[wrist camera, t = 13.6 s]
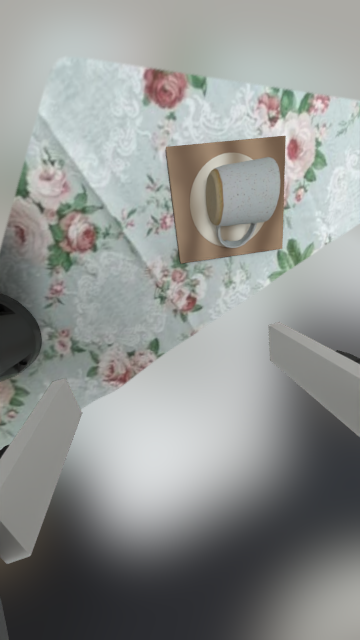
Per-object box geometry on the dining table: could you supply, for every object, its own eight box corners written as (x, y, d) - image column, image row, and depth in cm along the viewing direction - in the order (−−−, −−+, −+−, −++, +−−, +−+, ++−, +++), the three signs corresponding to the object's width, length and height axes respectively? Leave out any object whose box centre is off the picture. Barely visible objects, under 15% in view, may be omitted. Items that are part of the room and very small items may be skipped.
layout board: (180, 263, 35) (181, 263, 34) (165, 150, 30) (166, 146, 29) (278, 248, 37) (283, 248, 36) (281, 139, 32) (286, 134, 30)
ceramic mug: (200, 177, 30) (216, 155, 23) (252, 169, 31) (284, 145, 24) (208, 251, 34) (224, 252, 27) (255, 243, 35) (283, 242, 28)
